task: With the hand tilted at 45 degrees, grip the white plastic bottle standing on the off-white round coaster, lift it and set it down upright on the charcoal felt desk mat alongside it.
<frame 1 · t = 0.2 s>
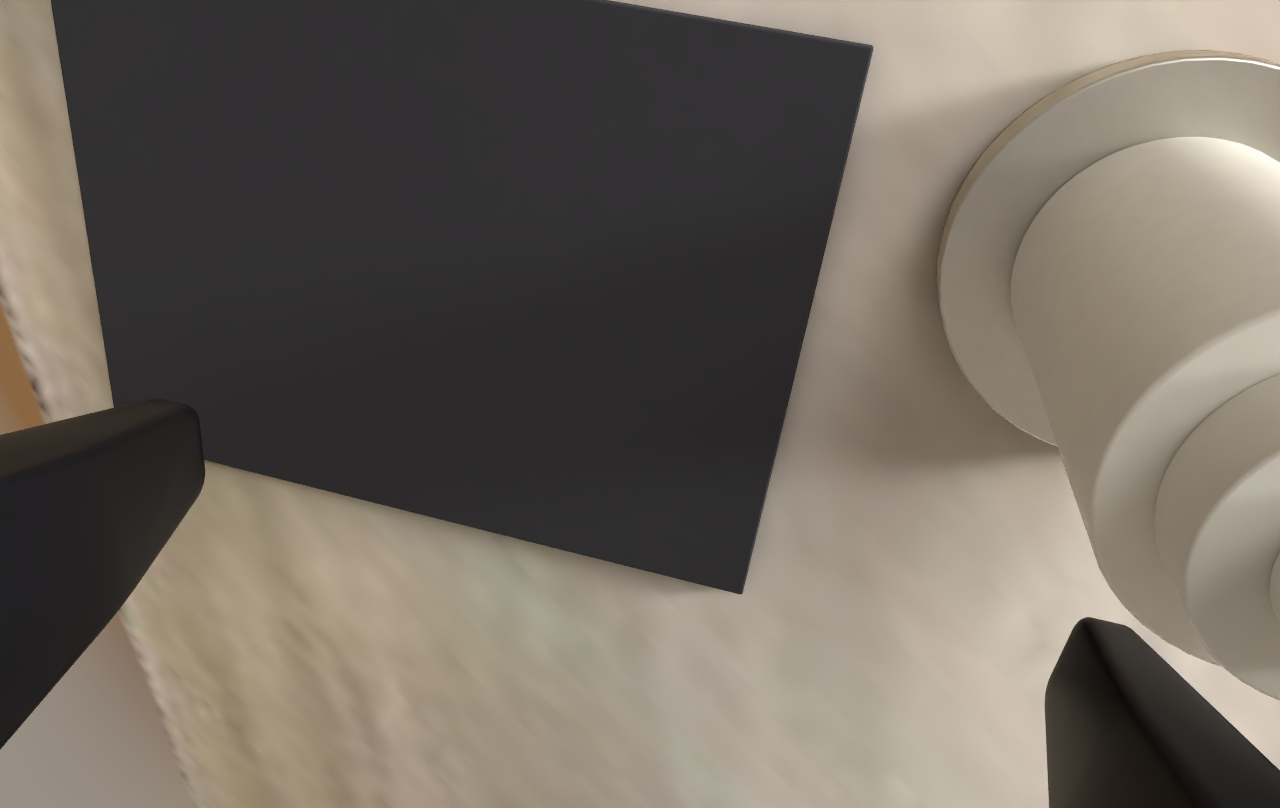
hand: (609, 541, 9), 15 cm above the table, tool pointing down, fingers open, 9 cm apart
felt mat: (427, 276, 25), on the table
bottle: (1159, 278, 20), point 1 cm above the table, touching off-white round coaster
off-white round coaster: (1147, 264, 21), on the table
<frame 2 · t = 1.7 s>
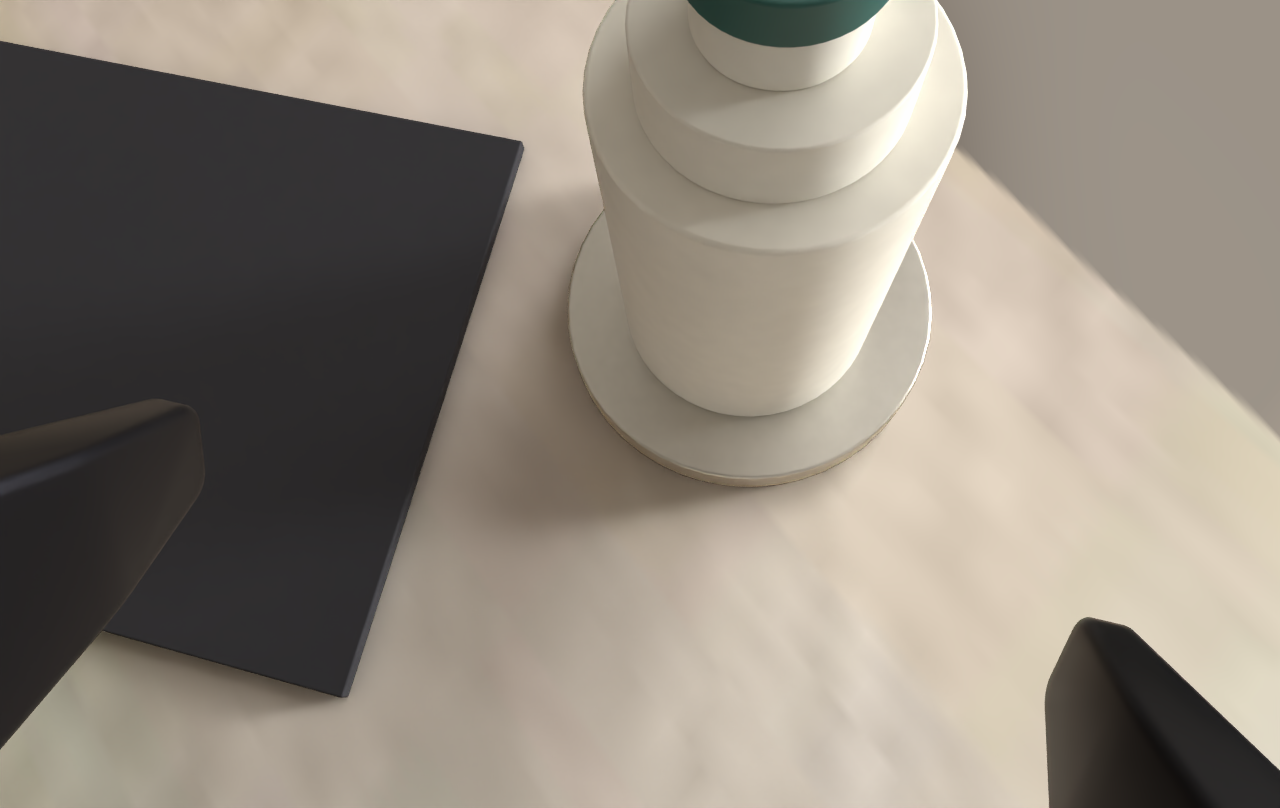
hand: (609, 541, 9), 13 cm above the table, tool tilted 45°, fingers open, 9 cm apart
felt mat: (96, 320, 25), on the table
bottle: (747, 301, 23), point 1 cm above the table, touching off-white round coaster
off-white round coaster: (745, 315, 24), on the table
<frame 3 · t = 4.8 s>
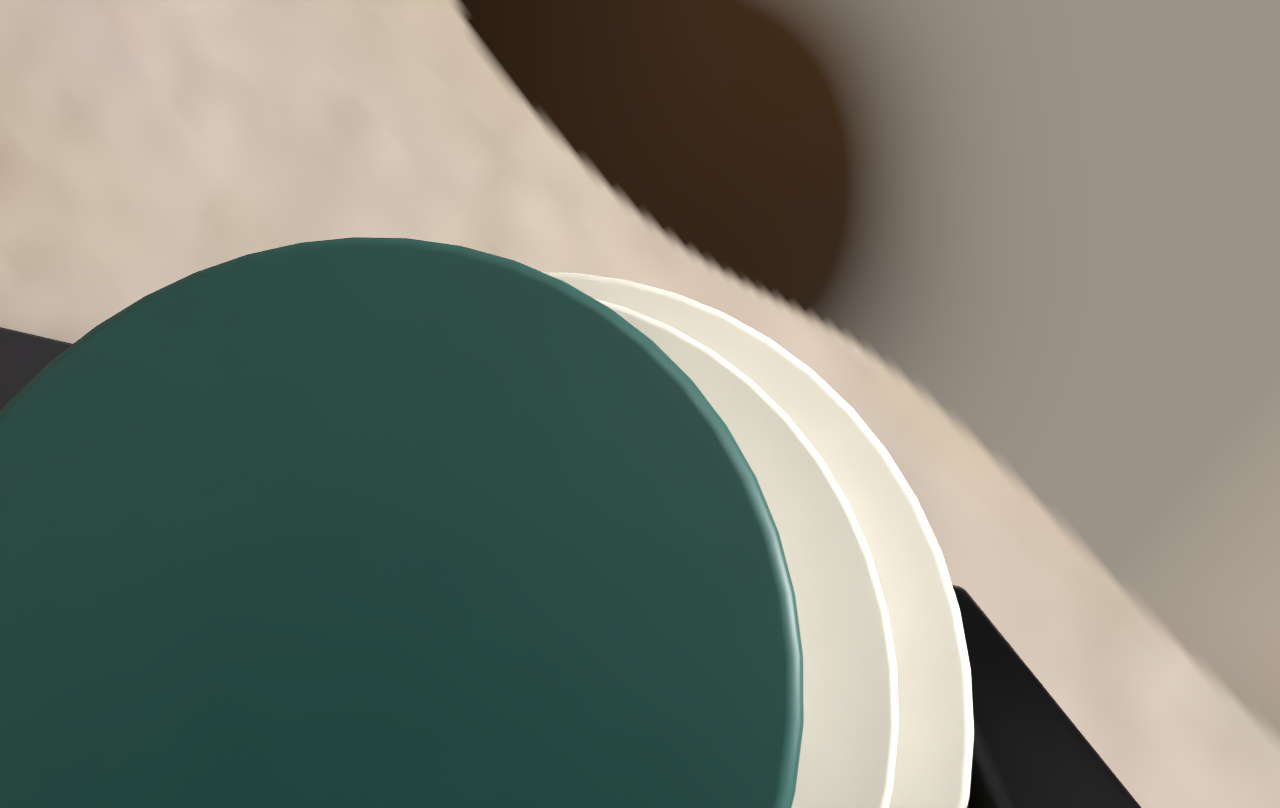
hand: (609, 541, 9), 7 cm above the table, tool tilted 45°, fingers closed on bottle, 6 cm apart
bottle: (617, 685, 15), point 1 cm above the table, touching gripper, off-white round coaster
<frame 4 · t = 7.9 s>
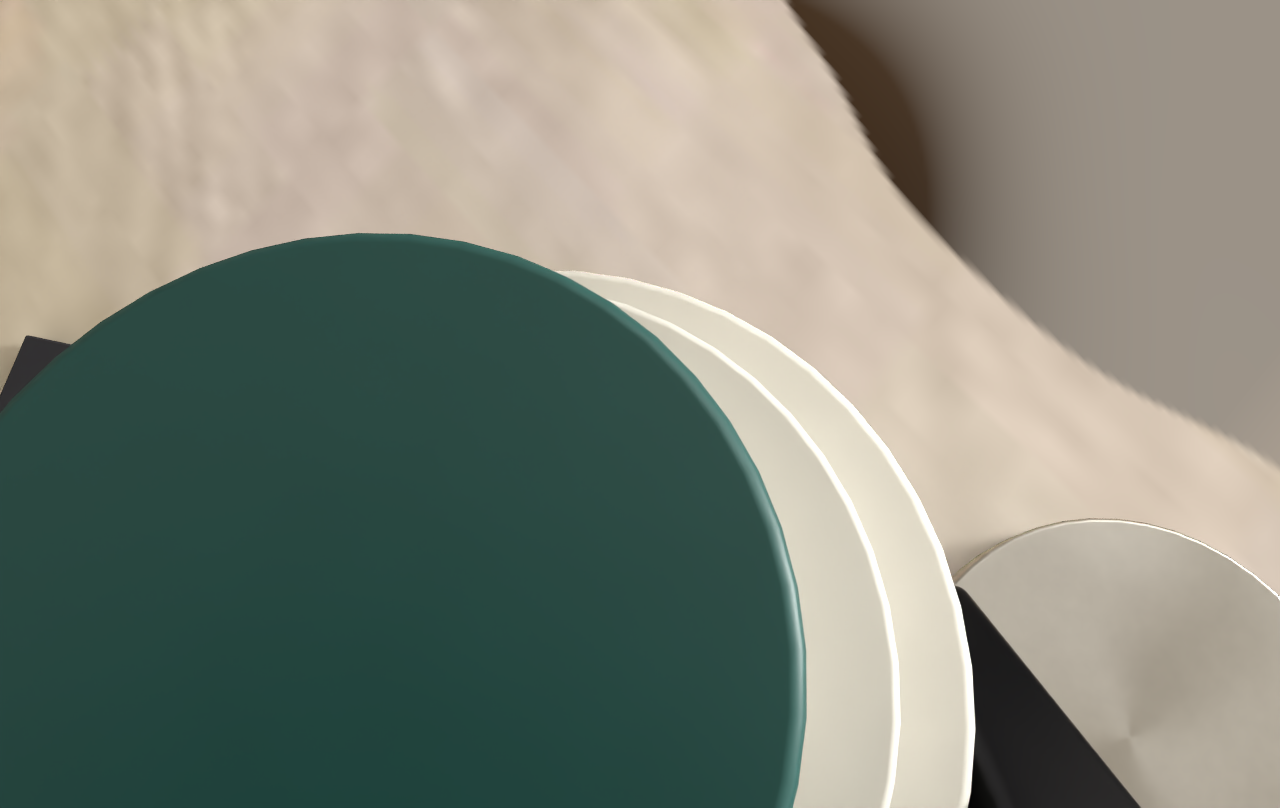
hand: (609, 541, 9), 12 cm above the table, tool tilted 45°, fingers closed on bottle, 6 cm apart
felt mat: (307, 735, 21), on the table
bottle: (618, 684, 15), point 6 cm above the table, touching gripper
off-white round coaster: (1108, 734, 20), on the table
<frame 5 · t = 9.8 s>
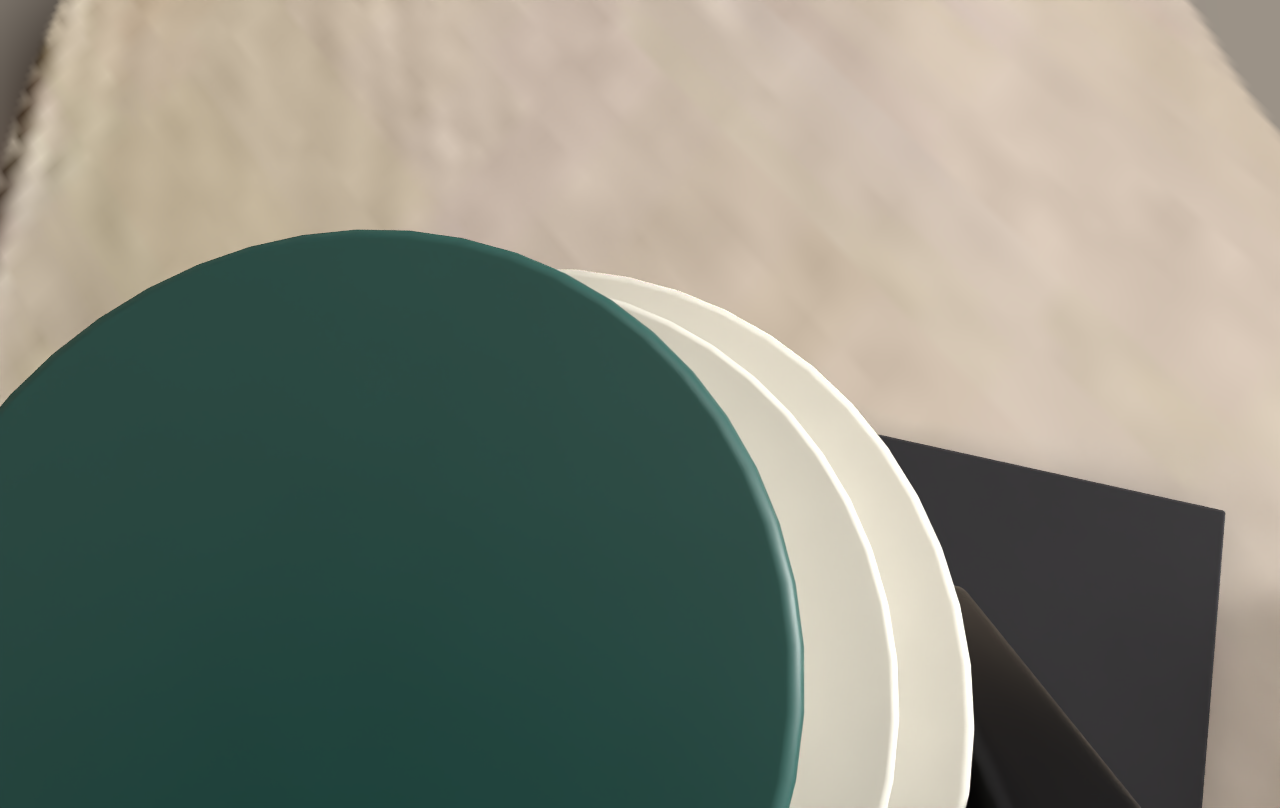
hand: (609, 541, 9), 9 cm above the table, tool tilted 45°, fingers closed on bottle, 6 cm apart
felt mat: (601, 789, 17), on the table
bottle: (618, 683, 15), point 3 cm above the table, touching gripper
when the fingers open (7 cm above the table, at t = 11.0 s): bottle stays where it is, resting on felt mat.
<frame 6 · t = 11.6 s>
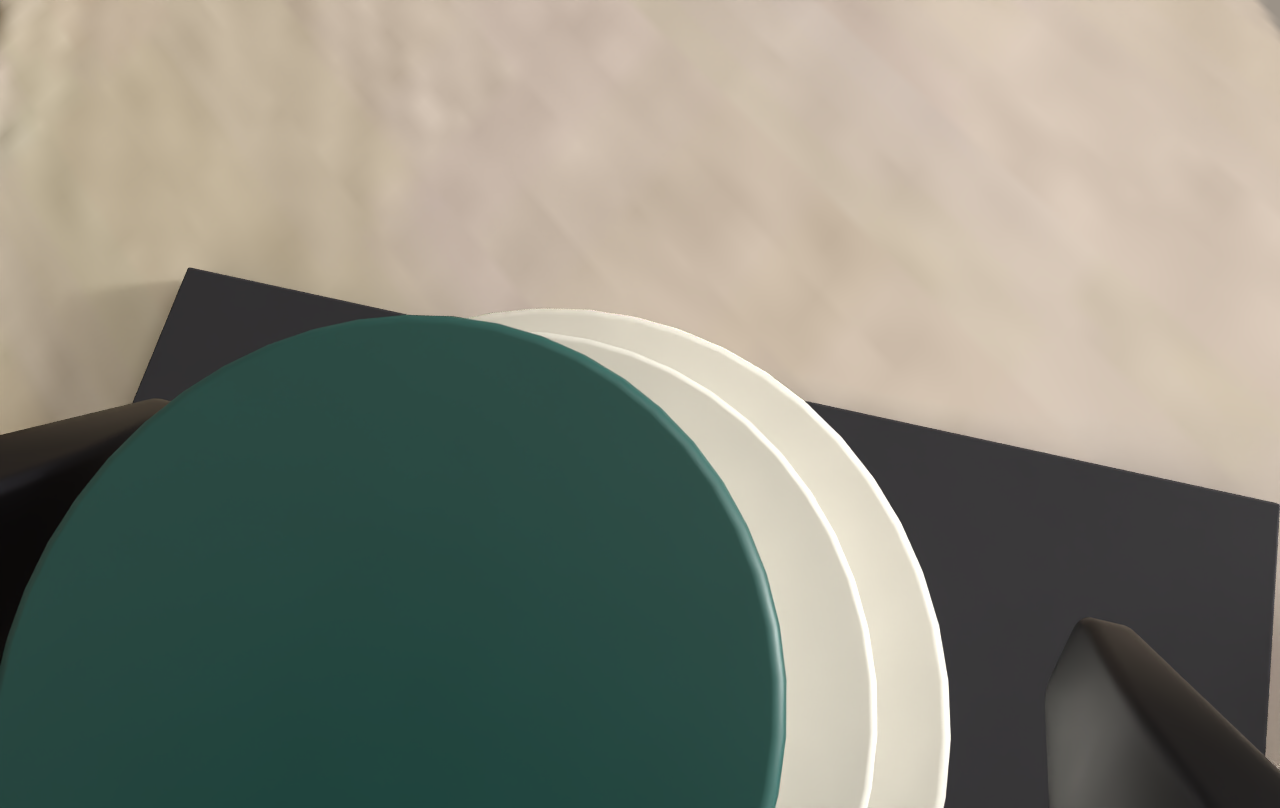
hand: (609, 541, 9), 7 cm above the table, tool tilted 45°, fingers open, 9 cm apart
bottle: (620, 688, 15), resting on felt mat
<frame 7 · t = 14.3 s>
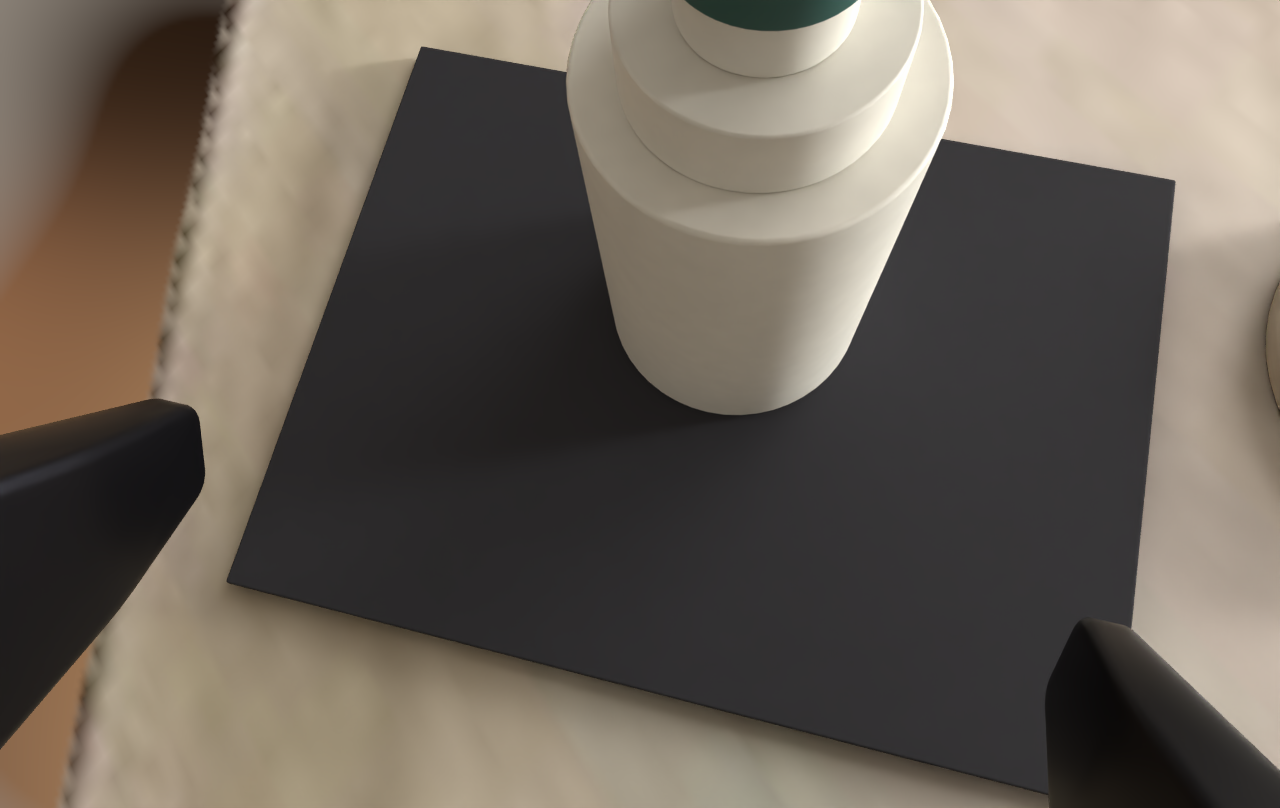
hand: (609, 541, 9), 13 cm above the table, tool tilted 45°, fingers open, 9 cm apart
felt mat: (717, 379, 23), on the table
bottle: (734, 299, 23), resting on felt mat
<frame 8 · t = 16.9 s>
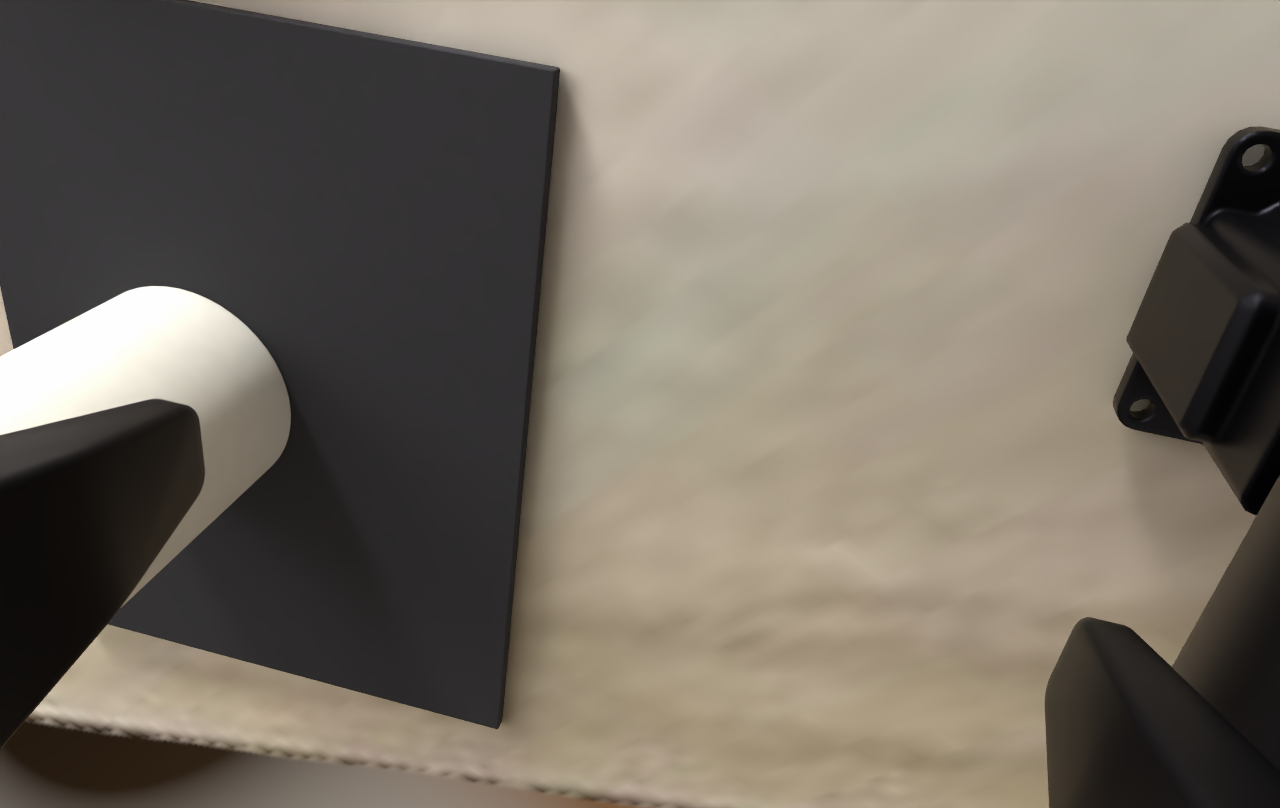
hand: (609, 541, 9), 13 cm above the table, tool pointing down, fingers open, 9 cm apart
felt mat: (265, 396, 26), on the table
bottle: (191, 388, 26), resting on felt mat
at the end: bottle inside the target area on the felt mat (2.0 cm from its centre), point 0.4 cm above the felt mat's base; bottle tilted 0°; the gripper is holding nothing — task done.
